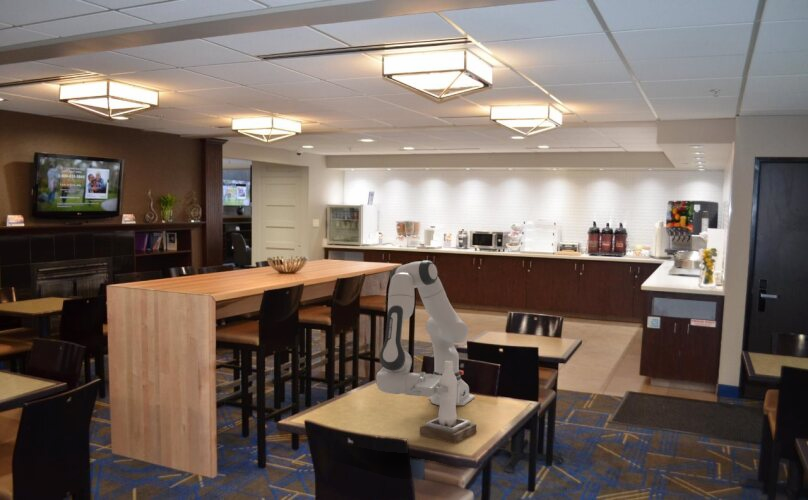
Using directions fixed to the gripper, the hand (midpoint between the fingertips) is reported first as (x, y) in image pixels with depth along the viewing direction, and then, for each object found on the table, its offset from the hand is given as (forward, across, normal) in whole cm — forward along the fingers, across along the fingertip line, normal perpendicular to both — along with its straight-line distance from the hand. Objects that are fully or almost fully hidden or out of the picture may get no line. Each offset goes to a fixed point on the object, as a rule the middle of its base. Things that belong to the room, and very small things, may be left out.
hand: (450, 387), depth 252 cm
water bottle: (-1, 0, +15) cm, 15 cm away
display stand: (-1, 0, +18) cm, 18 cm away
